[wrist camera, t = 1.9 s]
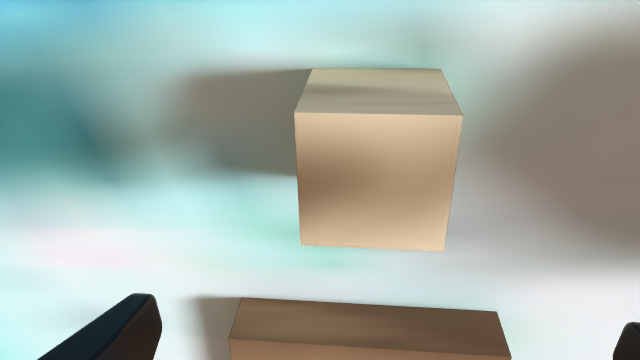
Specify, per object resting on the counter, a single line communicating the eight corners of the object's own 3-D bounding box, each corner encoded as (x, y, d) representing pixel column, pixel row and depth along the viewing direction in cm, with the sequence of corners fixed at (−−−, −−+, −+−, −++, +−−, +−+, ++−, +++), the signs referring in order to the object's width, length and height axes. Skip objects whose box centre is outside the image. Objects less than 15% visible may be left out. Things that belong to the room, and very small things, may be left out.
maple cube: (428, 181, 18) (443, 251, 14) (315, 177, 18) (300, 245, 14) (440, 68, 16) (462, 115, 12) (312, 67, 16) (293, 112, 12)
